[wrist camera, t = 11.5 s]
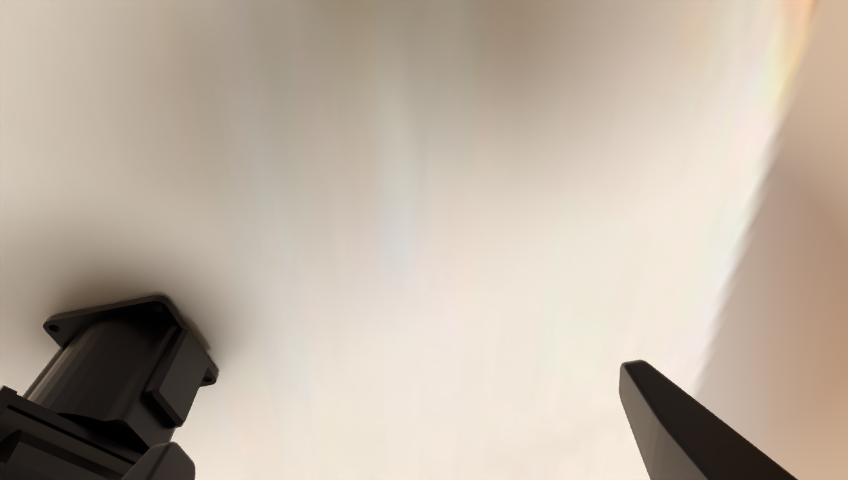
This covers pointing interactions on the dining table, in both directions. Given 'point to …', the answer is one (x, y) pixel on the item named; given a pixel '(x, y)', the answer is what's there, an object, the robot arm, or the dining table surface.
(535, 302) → the dining table surface
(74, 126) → the dining table surface
